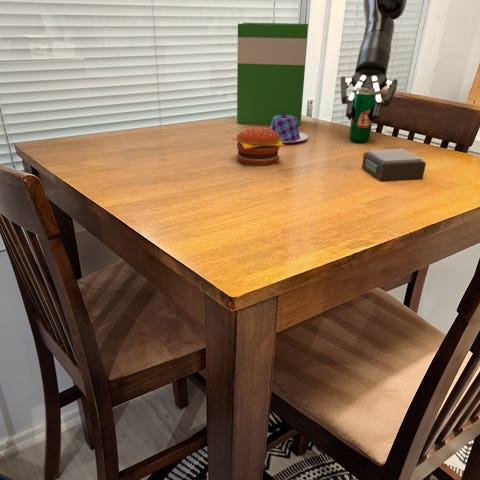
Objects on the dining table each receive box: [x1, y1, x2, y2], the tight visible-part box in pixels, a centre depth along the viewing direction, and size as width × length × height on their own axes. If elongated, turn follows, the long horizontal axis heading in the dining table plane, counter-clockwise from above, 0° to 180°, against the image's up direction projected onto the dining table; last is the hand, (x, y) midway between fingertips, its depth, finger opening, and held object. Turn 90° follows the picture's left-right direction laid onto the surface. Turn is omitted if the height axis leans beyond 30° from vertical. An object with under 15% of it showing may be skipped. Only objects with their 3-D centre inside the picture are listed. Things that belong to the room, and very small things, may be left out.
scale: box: [361, 148, 427, 182], centre depth 100 cm, size 9×9×4 cm
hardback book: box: [236, 21, 309, 127], centre depth 134 cm, size 18×7×24 cm, turn 82°
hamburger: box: [232, 126, 285, 166], centre depth 106 cm, size 9×10×7 cm
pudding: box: [269, 115, 309, 144], centre depth 122 cm, size 12×12×5 cm
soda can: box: [348, 87, 376, 144], centre depth 120 cm, size 5×5×12 cm
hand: (361, 118), depth 119 cm, fingers closed on soda can, 5 cm apart
